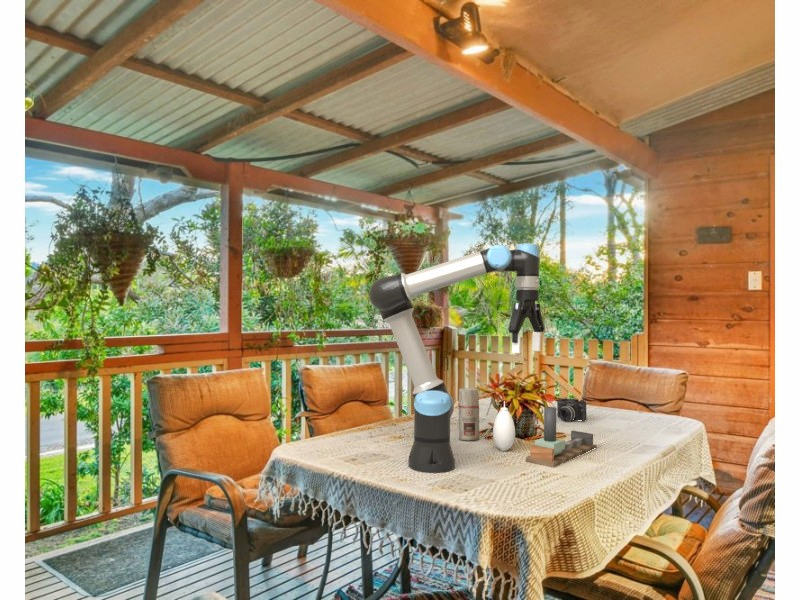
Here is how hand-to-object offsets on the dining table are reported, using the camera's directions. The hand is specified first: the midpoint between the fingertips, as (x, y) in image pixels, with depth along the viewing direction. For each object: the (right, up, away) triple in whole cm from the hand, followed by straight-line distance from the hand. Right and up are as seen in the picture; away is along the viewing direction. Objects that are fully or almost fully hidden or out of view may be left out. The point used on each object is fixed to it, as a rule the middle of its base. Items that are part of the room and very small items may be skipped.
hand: (526, 351), depth 189 cm
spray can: (-16, -37, +29) cm, 49 cm away
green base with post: (+8, -34, 0) cm, 35 cm away
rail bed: (+15, -37, +7) cm, 40 cm away
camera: (+35, -38, +69) cm, 86 cm away
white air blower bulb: (-5, -37, +12) cm, 39 cm away
